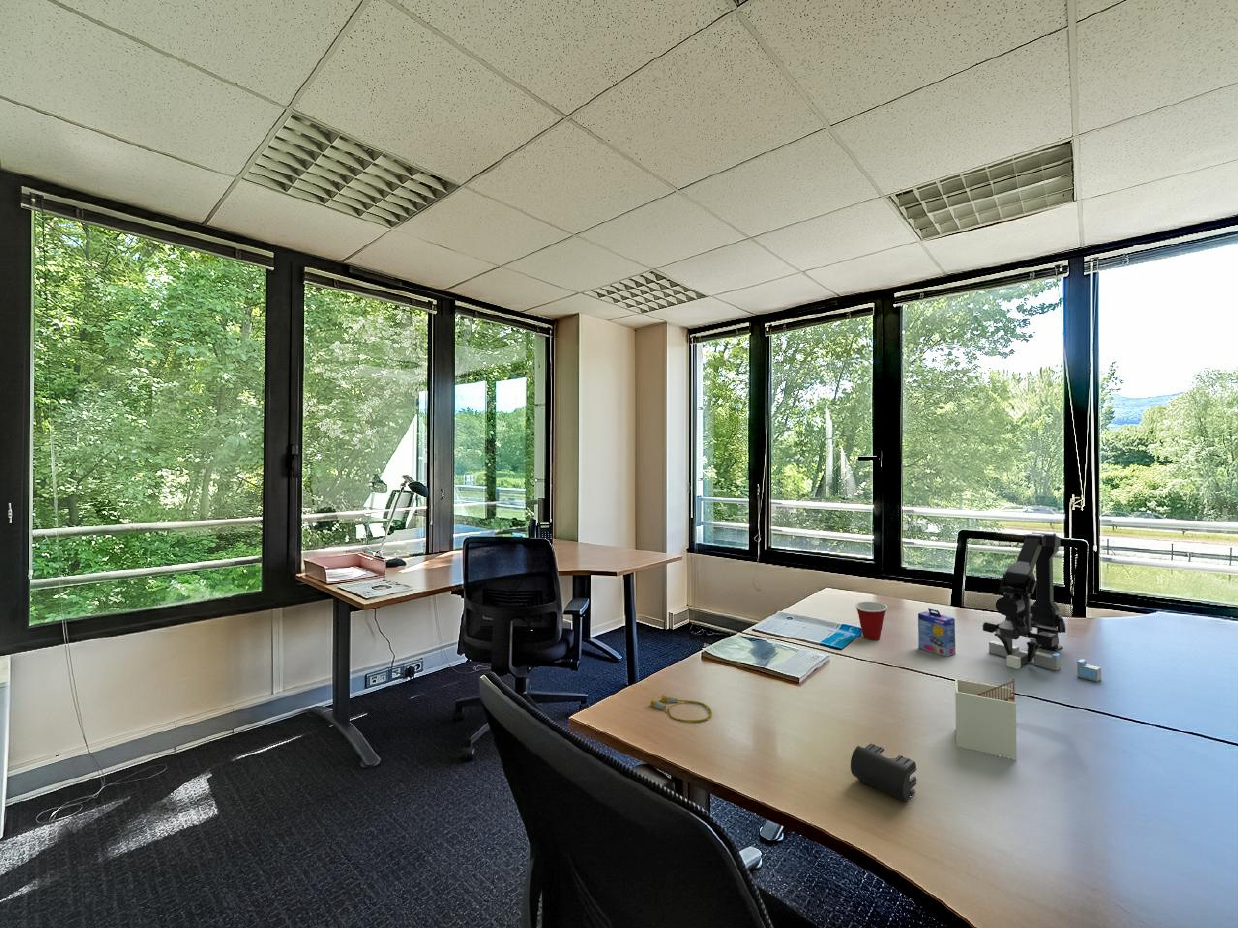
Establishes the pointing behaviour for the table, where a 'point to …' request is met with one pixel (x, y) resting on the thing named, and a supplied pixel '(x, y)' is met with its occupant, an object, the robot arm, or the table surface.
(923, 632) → the ink cartridge box
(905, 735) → the table surface
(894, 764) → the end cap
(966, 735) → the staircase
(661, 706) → the extension cord
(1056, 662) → the grey block row
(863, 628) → the plastic cup
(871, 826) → the table surface
